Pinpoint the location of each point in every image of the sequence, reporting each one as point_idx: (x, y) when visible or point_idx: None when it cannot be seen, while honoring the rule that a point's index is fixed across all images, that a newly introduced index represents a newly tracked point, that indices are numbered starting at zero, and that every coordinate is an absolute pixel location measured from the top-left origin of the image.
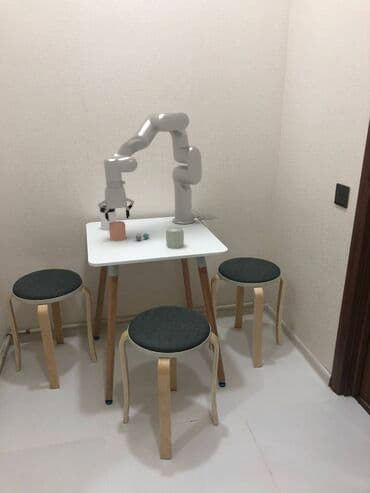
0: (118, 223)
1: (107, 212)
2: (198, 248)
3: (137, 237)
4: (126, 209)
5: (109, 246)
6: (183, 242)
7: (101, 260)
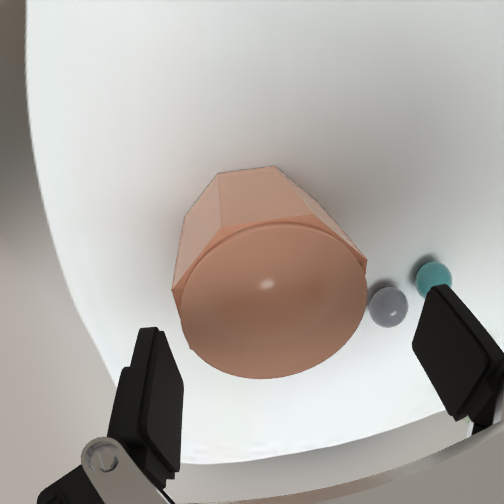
0: (294, 337)
1: (165, 474)
2: None
3: (380, 325)
4: (477, 410)
5: (197, 366)
6: None
7: (187, 458)
